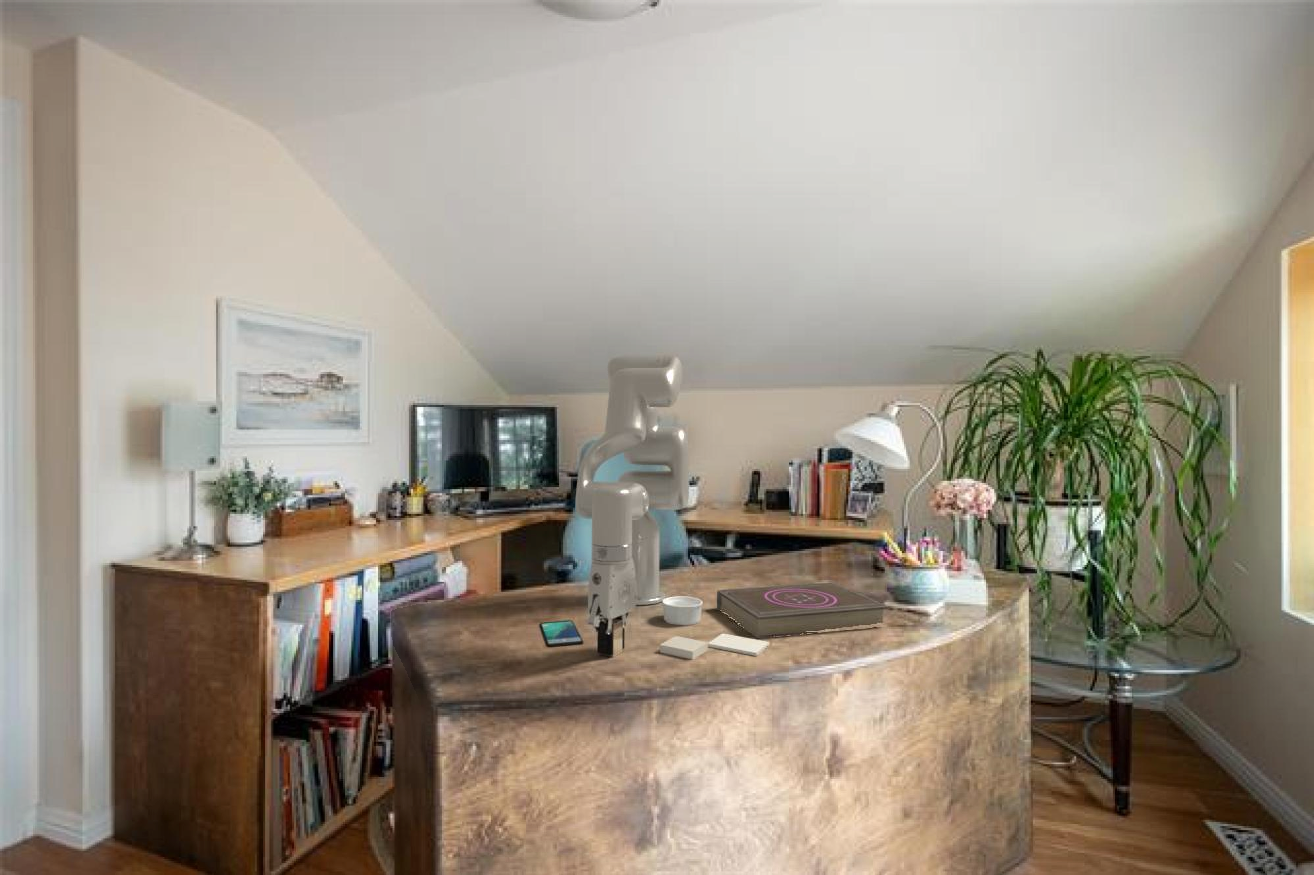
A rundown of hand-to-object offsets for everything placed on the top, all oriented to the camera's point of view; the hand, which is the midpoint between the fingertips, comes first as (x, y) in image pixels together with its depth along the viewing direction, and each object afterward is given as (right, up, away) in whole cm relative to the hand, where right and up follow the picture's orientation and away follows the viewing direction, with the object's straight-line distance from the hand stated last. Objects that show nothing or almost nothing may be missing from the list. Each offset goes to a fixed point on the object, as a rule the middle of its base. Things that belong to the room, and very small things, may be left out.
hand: (611, 650), depth 118 cm
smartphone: (-11, -1, +11) cm, 16 cm away
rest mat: (+24, -1, +5) cm, 25 cm away
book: (+40, -1, +24) cm, 47 cm away
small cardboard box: (0, 0, 0) cm, 0 cm away
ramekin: (+14, -1, +21) cm, 25 cm away
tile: (+11, 0, +3) cm, 11 cm away
